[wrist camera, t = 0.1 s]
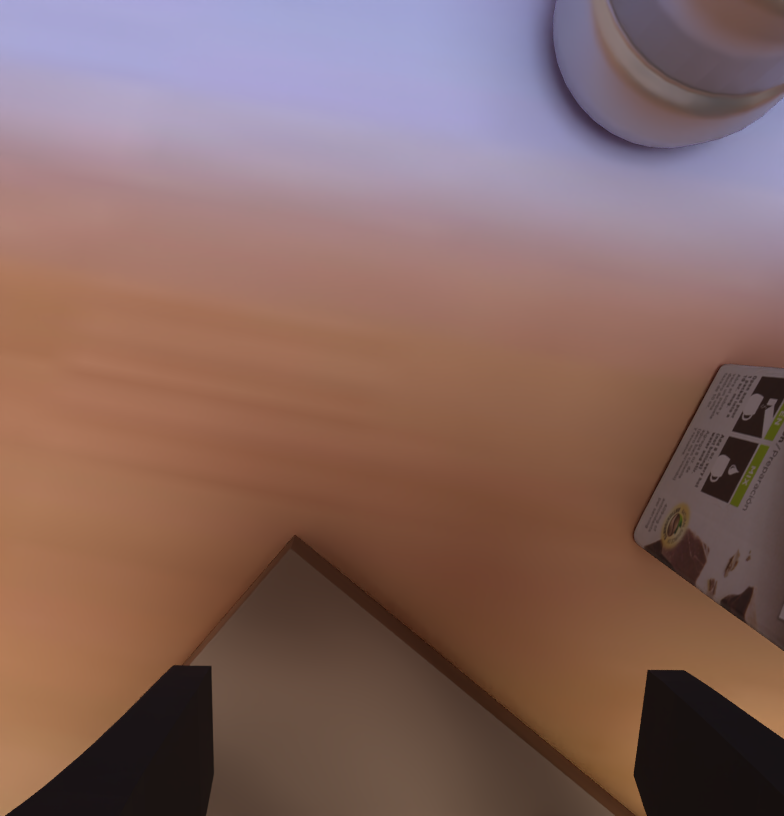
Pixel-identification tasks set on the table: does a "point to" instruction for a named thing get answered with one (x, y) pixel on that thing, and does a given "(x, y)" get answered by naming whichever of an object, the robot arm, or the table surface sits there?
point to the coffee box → (728, 499)
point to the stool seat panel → (363, 714)
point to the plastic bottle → (671, 65)
